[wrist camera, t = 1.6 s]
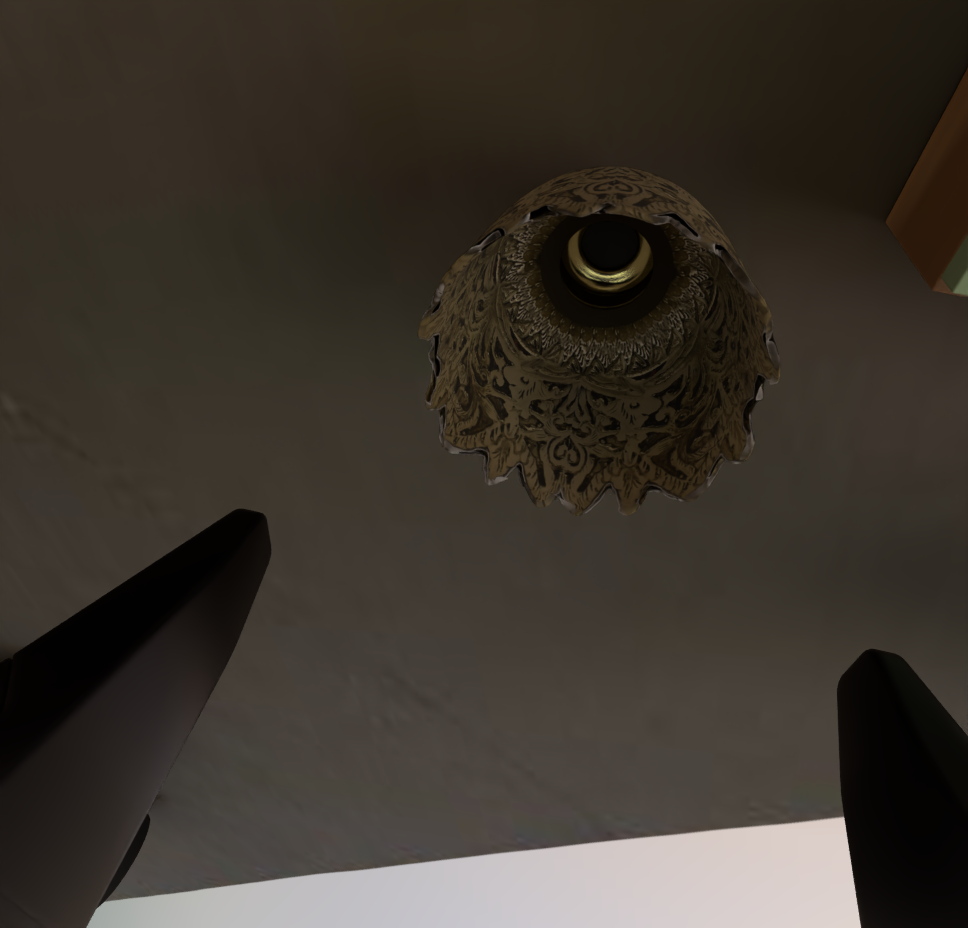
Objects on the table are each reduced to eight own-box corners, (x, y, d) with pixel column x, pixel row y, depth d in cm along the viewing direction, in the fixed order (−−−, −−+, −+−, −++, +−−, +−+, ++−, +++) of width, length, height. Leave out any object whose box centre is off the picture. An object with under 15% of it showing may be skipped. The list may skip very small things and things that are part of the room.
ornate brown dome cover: (497, 87, 18) (412, 184, 12) (781, 120, 17) (846, 243, 11) (481, 333, 22) (416, 489, 17) (700, 368, 22) (714, 546, 16)
